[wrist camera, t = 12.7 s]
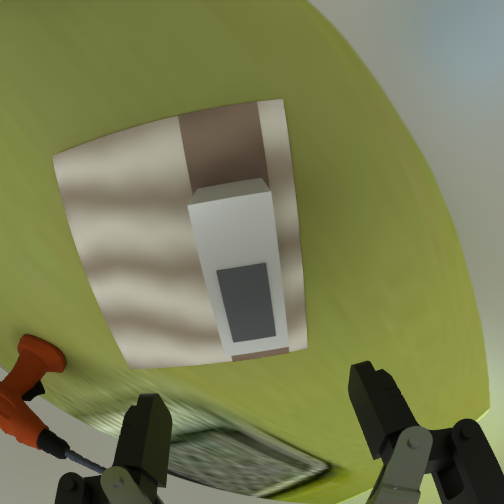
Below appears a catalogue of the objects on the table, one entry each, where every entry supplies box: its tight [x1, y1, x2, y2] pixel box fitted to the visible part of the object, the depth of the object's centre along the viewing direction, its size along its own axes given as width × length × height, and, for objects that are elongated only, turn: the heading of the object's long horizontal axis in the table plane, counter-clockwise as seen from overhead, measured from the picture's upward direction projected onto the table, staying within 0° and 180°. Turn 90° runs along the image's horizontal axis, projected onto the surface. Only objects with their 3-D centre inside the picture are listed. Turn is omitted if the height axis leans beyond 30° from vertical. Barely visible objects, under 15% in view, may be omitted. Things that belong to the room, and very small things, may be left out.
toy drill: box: [0, 335, 106, 474], centre depth 23 cm, size 5×19×15 cm, turn 71°
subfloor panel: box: [52, 99, 307, 369], centre depth 25 cm, size 24×20×1 cm
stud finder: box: [187, 178, 289, 357], centre depth 22 cm, size 12×5×6 cm, turn 8°
